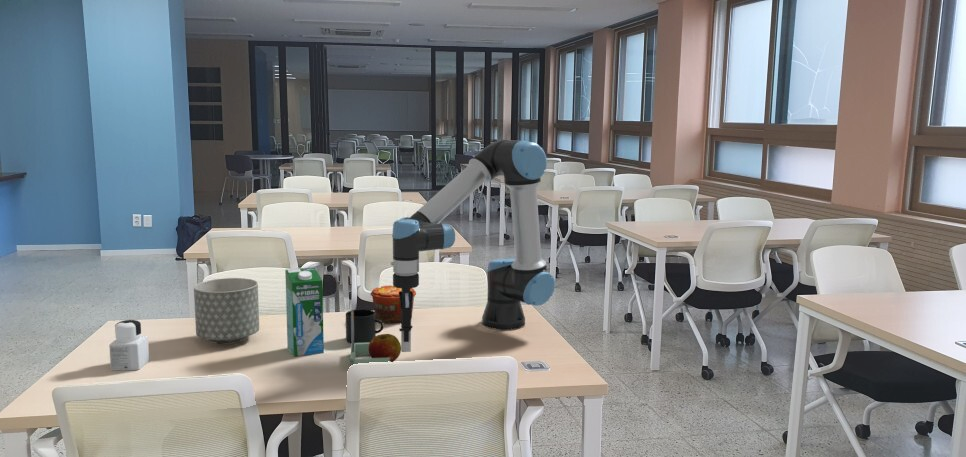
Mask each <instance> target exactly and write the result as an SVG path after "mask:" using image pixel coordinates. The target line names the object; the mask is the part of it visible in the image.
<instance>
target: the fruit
mask: <svg viewBox="0 0 966 457" xmlns="http://www.w3.org/2000/svg"><path fill="white" fill-rule="evenodd" d="M400 355H401V341H399V338H398V337H396V336H395V335H394V334H390V333H383V334H378V335H376V336H375V337H374V338H373V339H372V340H371V341H370V343H369V355H368V356H370V357H369V358H387V357H390V361H393V362H395V361H396V360H397V359H398V358H399V356H400Z"/></svg>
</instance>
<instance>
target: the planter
mask: <svg viewBox="0 0 966 457" xmlns="http://www.w3.org/2000/svg"><path fill="white" fill-rule="evenodd" d="M258 286H259V283H258V282H257V281H256V280H255V279H252V278H251V279H250V278H245V277H244V278H243V277H242V278H241V277H227V278H226V277H225V278H217V279H216V278H214V279H210V280H204V281H201V282H199V283H196V284H195V285H194V286H193V296H194V316H195V318H194V320H195V335H196V336H197V338H200V339H202V340H207V341H209V342H212V343H214V344H221V345H229V344H235V343H239V342H241V341H243V340H245V339H247V338H249V337H250V336H253V335H255V334H256V333H258V332H259V331H260V310H259V309H260V308H259V307H260V305H259V303H260V302H259V287H258Z"/></svg>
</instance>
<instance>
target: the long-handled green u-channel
mask: <svg viewBox="0 0 966 457" xmlns="http://www.w3.org/2000/svg"><path fill="white" fill-rule="evenodd" d="M350 311H351V310H350ZM369 343H370V342H369ZM369 343H354V311H351V343H350V358H349V359H350V362H349V363H350V366H351V365H353V364H358V363H369V362H388V361H390V357H387V358H371V357H367V358H366V357H365V358H364V357H363V358H356V356H370V355H369ZM350 366H349V367H350Z"/></svg>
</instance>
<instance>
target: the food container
mask: <svg viewBox="0 0 966 457" xmlns="http://www.w3.org/2000/svg"><path fill="white" fill-rule="evenodd" d="M410 291H412V293H413V300H412V308H411V320H412V318H413V311H414V301H415V297H416V295H417V292H416V290H415V288H411V289H410ZM399 292H401V288H396V287H394V286H393V285H390V284H389V285H383V286H380V287H375V288H373V289H372V291H371V292H370V296H371V297H372V304H373V311H374V312H375V314H376V319H378V320H380V321H382V323H383V324H386V325H387V324H388V325H398V324H400V325H401V307H400V298H399Z"/></svg>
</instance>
